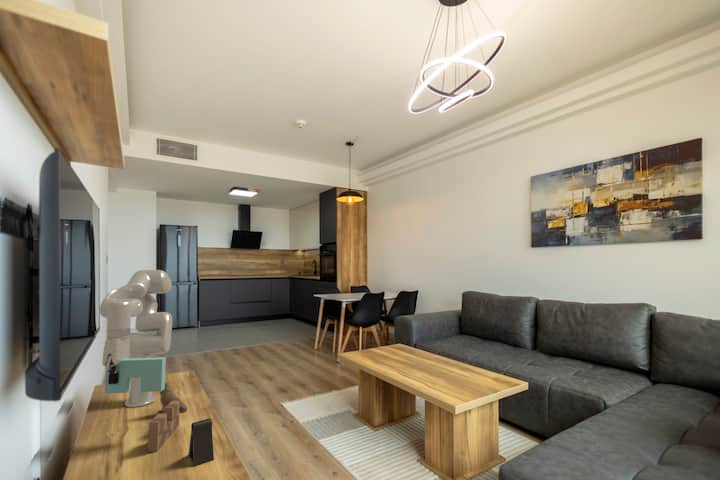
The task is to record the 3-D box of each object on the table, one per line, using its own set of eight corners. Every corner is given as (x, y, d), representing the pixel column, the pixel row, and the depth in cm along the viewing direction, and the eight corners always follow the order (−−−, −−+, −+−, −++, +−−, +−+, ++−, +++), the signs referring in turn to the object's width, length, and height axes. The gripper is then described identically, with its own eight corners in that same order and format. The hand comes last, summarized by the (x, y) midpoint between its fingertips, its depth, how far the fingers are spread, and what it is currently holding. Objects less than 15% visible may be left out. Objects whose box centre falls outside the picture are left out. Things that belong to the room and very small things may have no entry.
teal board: (109, 390, 132) (111, 358, 133) (164, 388, 134) (165, 357, 135) (104, 393, 129) (106, 361, 130) (161, 391, 131) (162, 359, 132)
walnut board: (171, 425, 140) (171, 400, 141) (178, 425, 141) (179, 400, 142) (147, 452, 121) (149, 422, 121) (157, 451, 121) (158, 422, 122)
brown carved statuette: (158, 424, 147) (149, 384, 146) (157, 419, 152) (149, 380, 151) (188, 412, 154) (180, 373, 153) (187, 407, 158) (179, 370, 157)
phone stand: (213, 460, 116) (214, 423, 117) (194, 466, 112) (195, 428, 113) (206, 448, 123) (207, 414, 124) (188, 454, 119) (189, 418, 120)
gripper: (120, 329, 140) (118, 375, 139) (94, 337, 124) (91, 390, 123) (139, 329, 141) (138, 374, 140) (116, 337, 125) (114, 389, 124)
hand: (116, 381), depth 131 cm, fingers closed on teal board, 3 cm apart
